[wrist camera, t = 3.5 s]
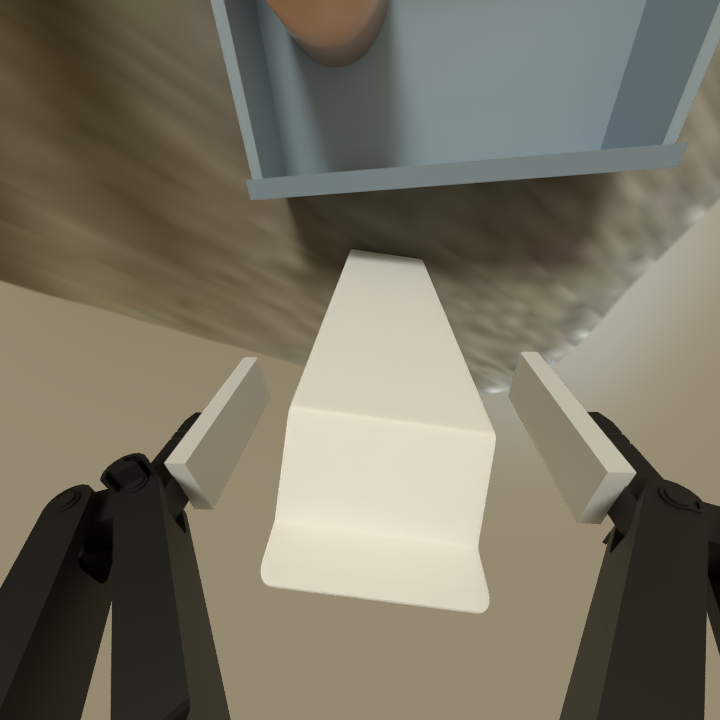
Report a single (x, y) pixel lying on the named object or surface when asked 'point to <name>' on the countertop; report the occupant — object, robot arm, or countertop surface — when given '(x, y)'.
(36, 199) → the countertop surface
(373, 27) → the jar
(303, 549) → the milk
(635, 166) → the tote
